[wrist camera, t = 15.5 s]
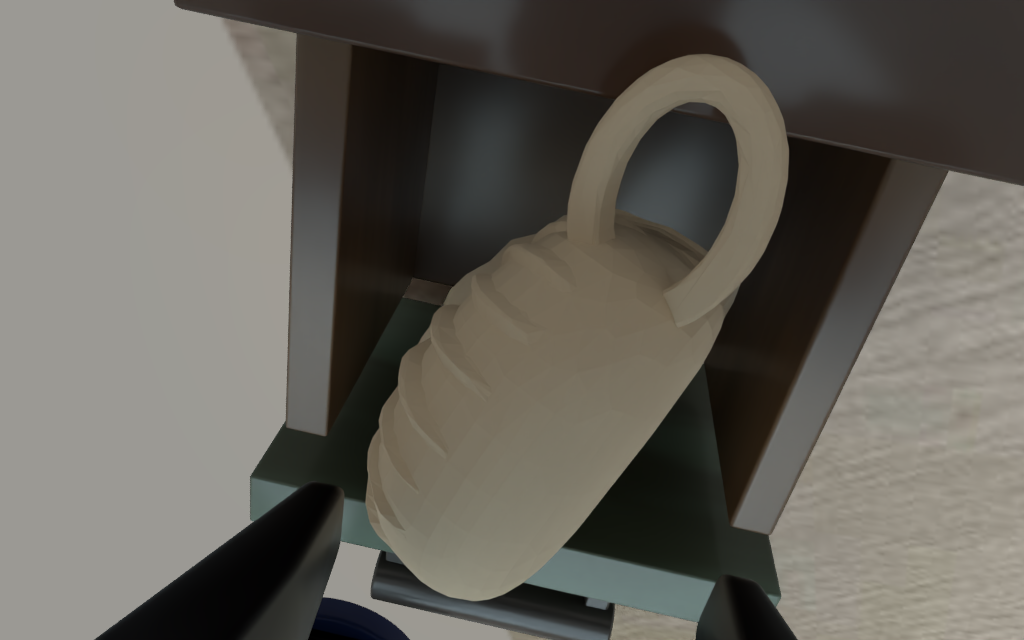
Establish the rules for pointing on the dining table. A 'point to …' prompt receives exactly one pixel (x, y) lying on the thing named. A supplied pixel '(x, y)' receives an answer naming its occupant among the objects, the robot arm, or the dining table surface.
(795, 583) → the dining table surface
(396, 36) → the cabinet
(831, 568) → the dining table surface
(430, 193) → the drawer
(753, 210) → the decorative ornament
